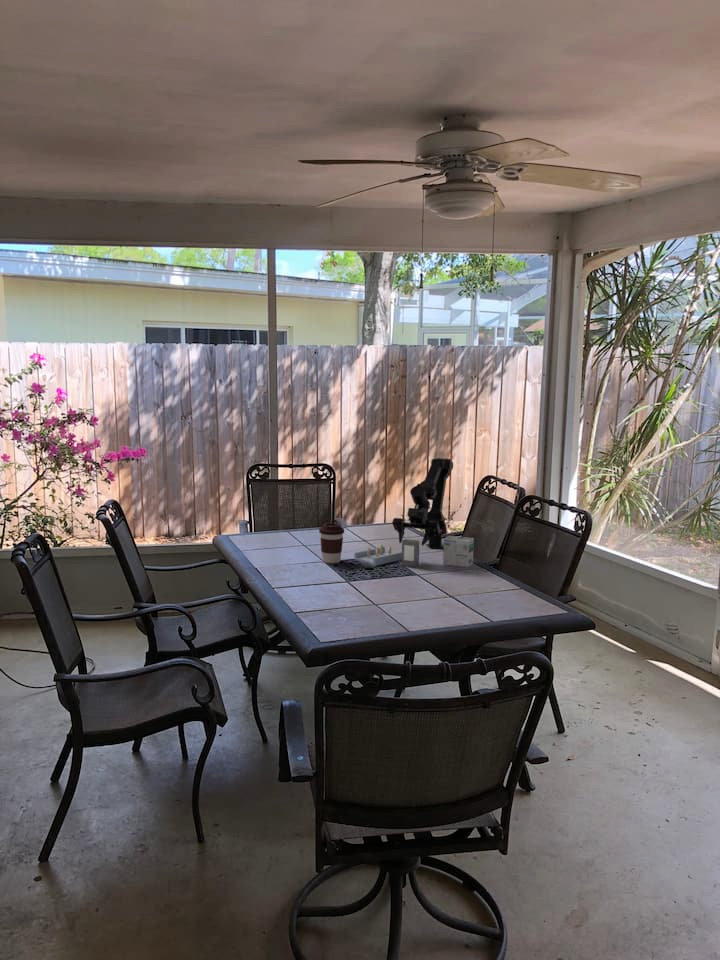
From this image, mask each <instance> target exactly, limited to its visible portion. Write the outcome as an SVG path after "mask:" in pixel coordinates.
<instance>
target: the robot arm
mask: <svg viewBox="0 0 720 960" xmlns="http://www.w3.org/2000/svg"><path fill="white" fill-rule="evenodd" d="M453 469H454V461H452V460H451V459H450V458H443V457H442V458H440V457H436V458H432V459H431V463H430V466H429V468H428V472H427V475H426V476H425V479H424V480H423V481H420V483H416V484H417V485H415V486H412V488H410V491H409V492H410V496H411V499H412V501H413V504H414V508H412V507H408V508H407V516H406V517H408V521H407V522H406V521H405V520H404V518H401V517H394V518H393V519H392V522H391V523H392V527H393V529H394V531H396V532H397V533H398V543H399V544H402V541H403V540H404V535H405V530H406V528H410V529H414V530H415V529H416V530H417V529H418V530H424V535H423V538H422V540H421V546H422V547H423V546H425V545H426V547H428V548H429V549H444V544H442V543H443V536H444V535H447V531H448V528H447V523H446V521H445V516H444V514H443V505H444V497H445V492H446V486H447V485H446V484H447V480H448V478H449V477H450V476H451V474H452V471H453ZM430 501H432V503H430ZM430 506H431V507H430ZM430 508H431V509H430ZM427 542H428V543H427Z"/></svg>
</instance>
